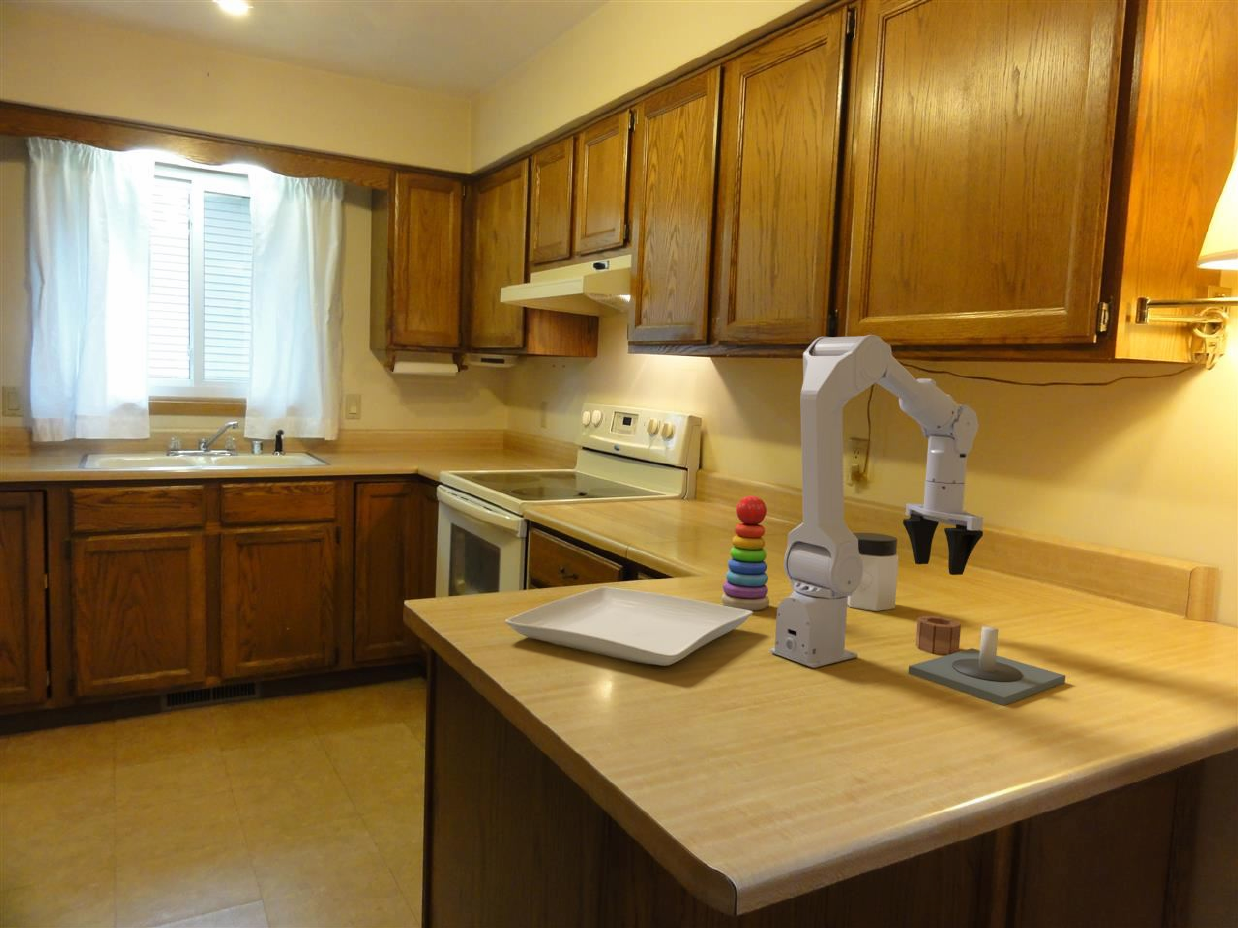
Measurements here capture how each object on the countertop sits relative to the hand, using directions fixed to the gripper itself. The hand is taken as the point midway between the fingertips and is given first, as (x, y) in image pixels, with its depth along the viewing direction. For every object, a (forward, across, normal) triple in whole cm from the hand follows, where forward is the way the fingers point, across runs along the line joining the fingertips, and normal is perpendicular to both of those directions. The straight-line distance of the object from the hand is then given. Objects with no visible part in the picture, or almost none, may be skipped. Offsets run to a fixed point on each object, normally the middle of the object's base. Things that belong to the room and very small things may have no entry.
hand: (938, 568), depth 130 cm
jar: (+10, +16, 0) cm, 19 cm away
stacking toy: (+10, +20, +22) cm, 32 cm away
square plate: (+11, +9, +47) cm, 49 cm away
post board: (+10, -20, +8) cm, 24 cm away
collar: (+10, -8, +6) cm, 14 cm away
